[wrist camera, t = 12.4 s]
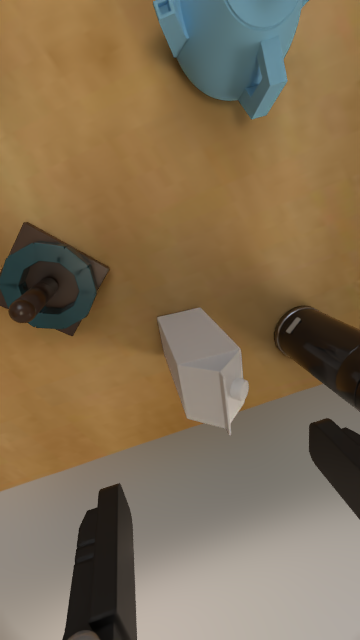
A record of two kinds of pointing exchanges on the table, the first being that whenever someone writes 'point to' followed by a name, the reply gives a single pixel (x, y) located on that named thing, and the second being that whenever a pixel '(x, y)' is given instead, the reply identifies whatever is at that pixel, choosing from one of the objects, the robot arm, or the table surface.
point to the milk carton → (203, 367)
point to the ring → (60, 253)
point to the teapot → (232, 46)
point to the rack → (47, 281)
